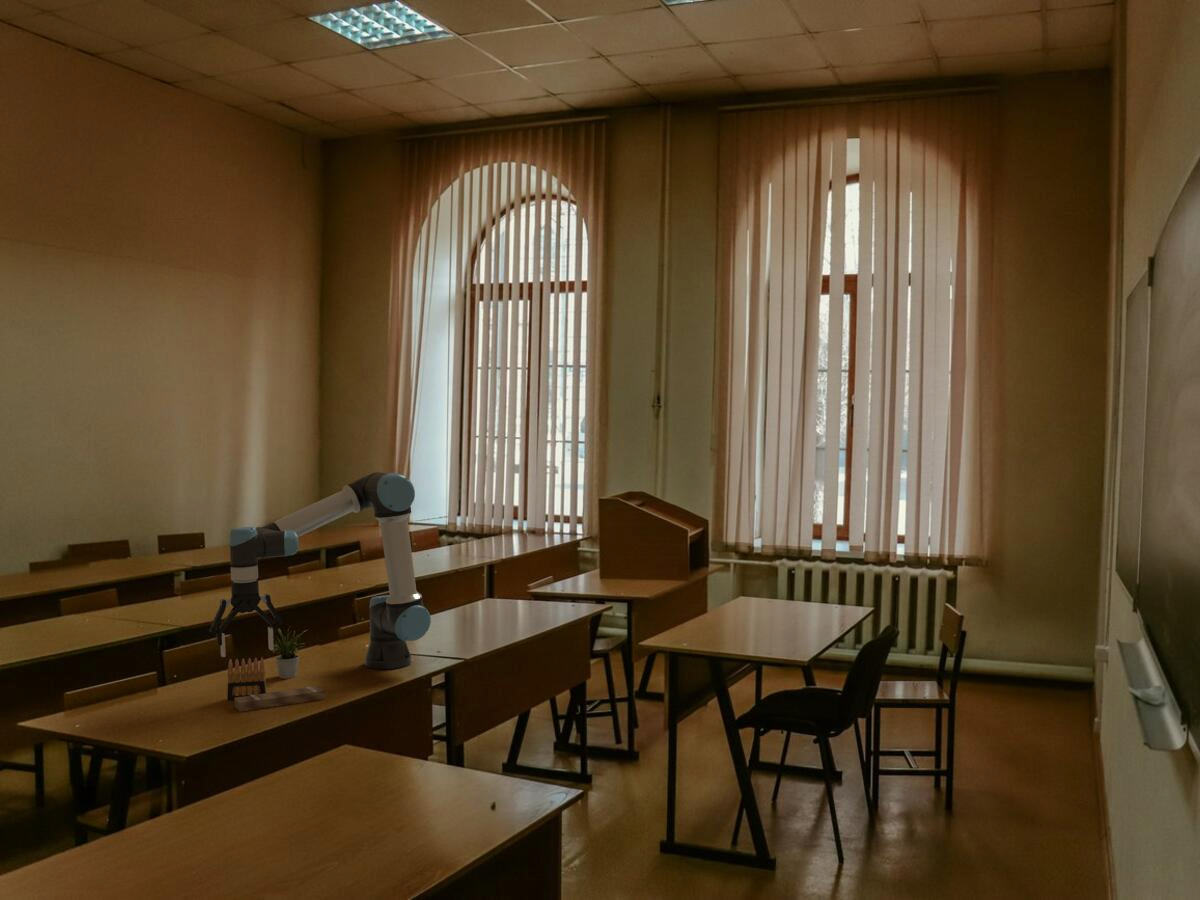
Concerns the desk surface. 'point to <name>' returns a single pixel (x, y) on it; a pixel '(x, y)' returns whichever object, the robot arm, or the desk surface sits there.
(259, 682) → the ammunition clip
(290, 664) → the house plant
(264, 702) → the plank
